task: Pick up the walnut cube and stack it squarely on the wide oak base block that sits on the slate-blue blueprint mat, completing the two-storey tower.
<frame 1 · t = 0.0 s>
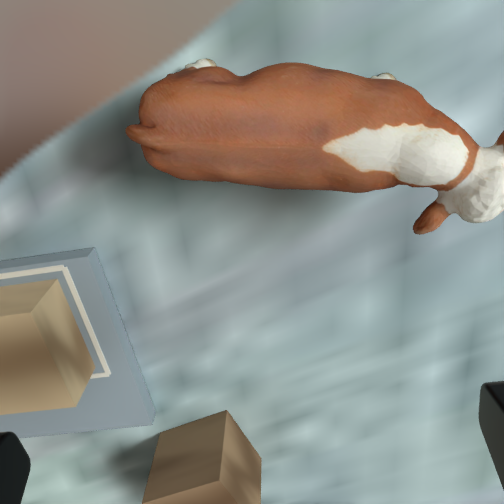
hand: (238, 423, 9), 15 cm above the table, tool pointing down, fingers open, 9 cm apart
bull figurine: (313, 109, 20), on the table
blueprint mat: (47, 348, 27), on the table
oak base block: (26, 331, 25), point 1 cm above the table, touching blueprint mat
walnut cube: (211, 444, 31), on the table
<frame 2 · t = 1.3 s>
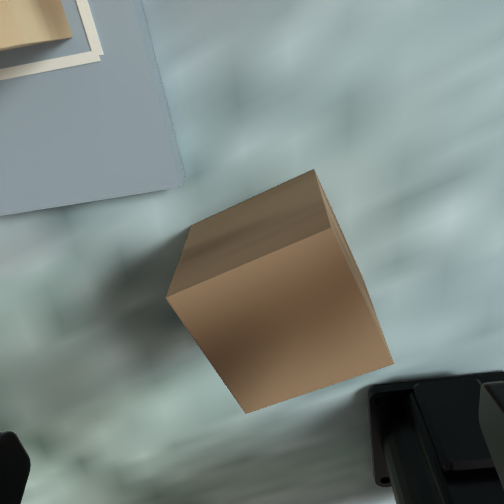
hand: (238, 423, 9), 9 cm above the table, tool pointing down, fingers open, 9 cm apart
walnut cube: (279, 251, 18), on the table
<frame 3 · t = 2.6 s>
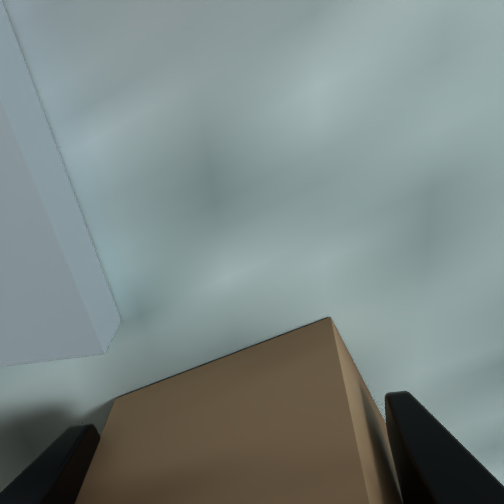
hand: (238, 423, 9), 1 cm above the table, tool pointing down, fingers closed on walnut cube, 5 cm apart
walnut cube: (269, 437, 10), on the table, touching gripper
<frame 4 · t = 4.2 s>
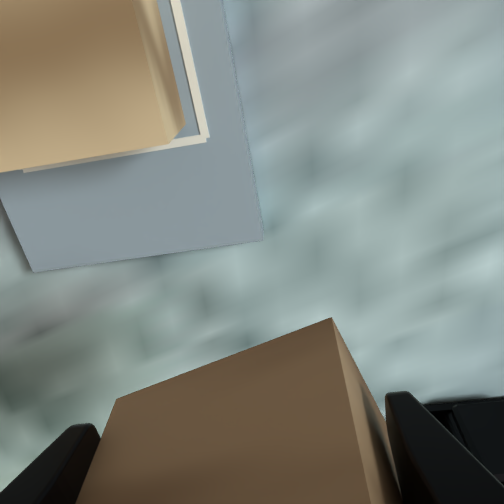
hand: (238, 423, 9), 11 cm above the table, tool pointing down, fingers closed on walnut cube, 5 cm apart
blueprint mat: (107, 105, 17), on the table
oak base block: (79, 50, 15), point 1 cm above the table, touching blueprint mat
walnut cube: (270, 438, 10), point 10 cm above the table, touching gripper
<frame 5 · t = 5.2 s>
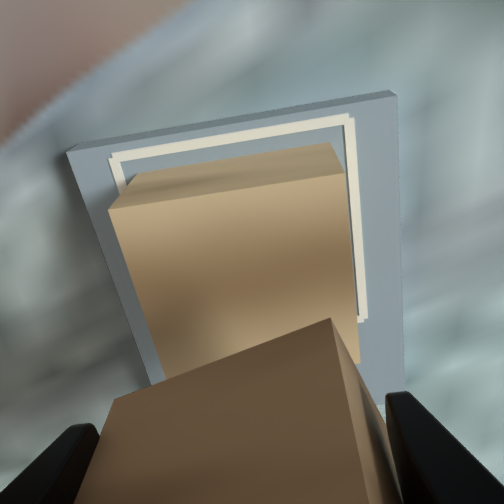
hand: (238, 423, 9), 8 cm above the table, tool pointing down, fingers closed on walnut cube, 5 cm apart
blueprint mat: (259, 279, 17), on the table
oak base block: (248, 244, 15), point 1 cm above the table, touching blueprint mat
walnut cube: (269, 438, 10), point 8 cm above the table, touching gripper
when the fingers open (6 cm above the table, at t = 5.9 s): walnut cube drops 2 cm, resting on oak base block.
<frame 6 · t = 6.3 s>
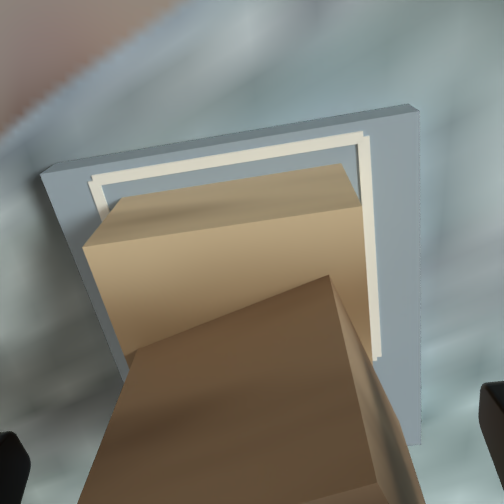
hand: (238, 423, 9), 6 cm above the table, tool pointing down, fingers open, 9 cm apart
blueprint mat: (259, 311, 15), on the table
oak base block: (248, 276, 14), point 1 cm above the table, touching blueprint mat, walnut cube
walnut cube: (273, 387, 12), point 4 cm above the table, touching oak base block
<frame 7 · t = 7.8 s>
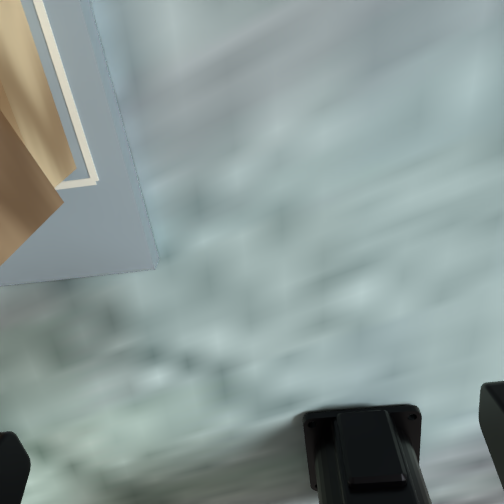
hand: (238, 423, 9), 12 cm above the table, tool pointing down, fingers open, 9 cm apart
blueprint mat: (8, 146, 19), on the table
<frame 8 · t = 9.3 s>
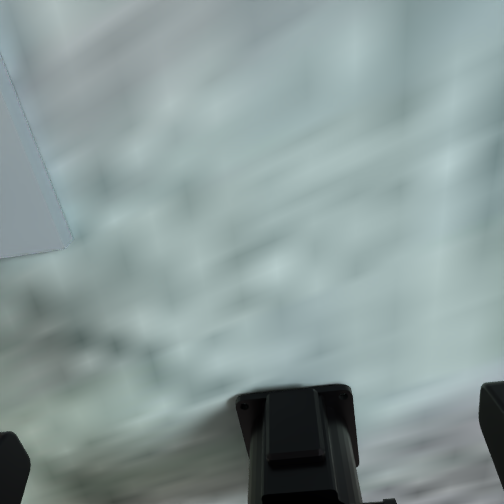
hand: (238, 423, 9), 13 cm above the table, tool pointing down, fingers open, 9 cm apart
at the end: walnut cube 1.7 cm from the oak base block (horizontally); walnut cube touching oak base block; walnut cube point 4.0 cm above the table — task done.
